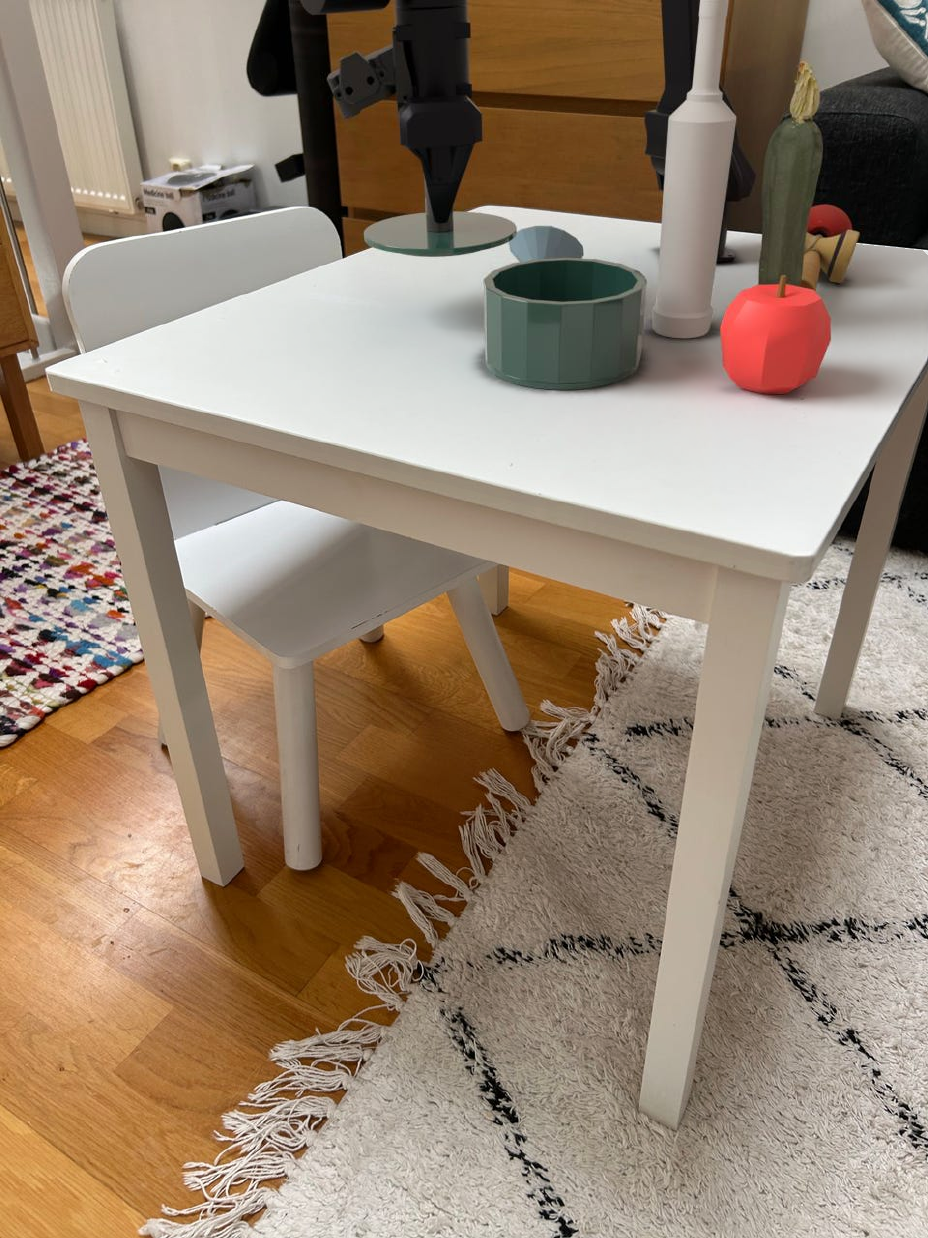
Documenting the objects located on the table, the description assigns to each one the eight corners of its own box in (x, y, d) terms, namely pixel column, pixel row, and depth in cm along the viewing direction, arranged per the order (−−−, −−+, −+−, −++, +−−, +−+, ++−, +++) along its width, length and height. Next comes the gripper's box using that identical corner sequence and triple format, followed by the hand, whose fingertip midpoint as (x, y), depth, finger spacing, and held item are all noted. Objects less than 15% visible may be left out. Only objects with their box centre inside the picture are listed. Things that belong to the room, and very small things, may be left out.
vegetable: (795, 335, 81) (841, 64, 70) (742, 333, 82) (780, 65, 71) (791, 318, 85) (835, 58, 73) (741, 316, 86) (776, 59, 74)
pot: (479, 339, 83) (478, 261, 79) (621, 331, 83) (627, 254, 80) (493, 393, 73) (492, 307, 69) (654, 385, 73) (662, 299, 69)
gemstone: (566, 260, 91) (574, 213, 91) (491, 265, 94) (499, 219, 94) (586, 302, 97) (593, 258, 98) (516, 305, 100) (523, 262, 101)
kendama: (846, 329, 86) (866, 250, 98) (846, 260, 82) (866, 186, 94) (757, 335, 89) (786, 258, 101) (753, 269, 85) (784, 197, 97)
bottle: (717, 323, 84) (759, -17, 70) (703, 342, 81) (744, -14, 66) (659, 317, 86) (689, -16, 72) (643, 335, 82) (671, -13, 68)
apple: (828, 371, 74) (848, 265, 70) (813, 410, 69) (835, 297, 64) (724, 359, 77) (738, 256, 73) (702, 395, 71) (715, 286, 67)
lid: (365, 227, 90) (360, 162, 86) (508, 220, 90) (507, 155, 87) (363, 266, 79) (357, 193, 76) (525, 258, 79) (526, 185, 76)
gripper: (332, 4, 82) (350, 200, 91) (320, 18, 66) (344, 251, 75) (462, -1, 82) (467, 194, 91) (480, 11, 67) (484, 244, 76)
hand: (440, 219), depth 83 cm, fingers closed on lid, 2 cm apart
